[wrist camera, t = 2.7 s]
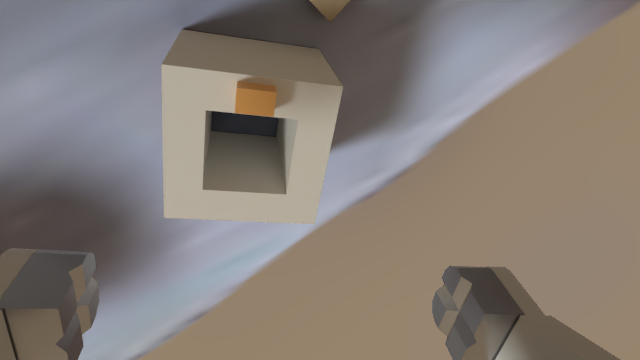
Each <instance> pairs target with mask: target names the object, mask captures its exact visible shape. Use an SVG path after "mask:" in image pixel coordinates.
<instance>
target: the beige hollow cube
mask: <svg viewBox="0 0 640 360" xmlns="http://www.w3.org/2000/svg"><path fill="white" fill-rule="evenodd" d="M342 91H343V85H342V84H341V82H340V81H339V79H338V78H337V76H336V75H335V73H334V72H333V70H332V69H331V67H330V66H329V64H328V63H327V61H326V60H325V58H324V57H323V55H322V54H321V52H320V50H319V49H315V48H308V47H301V46H294V45H287V44H280V43H273V42H266V41H259V40H252V39H245V38H238V37H232V36H225V35H218V34H211V33H204V32H197V31H190V30H183V29H182V30H181V32H180V33H179V35H178V37H177V39H176V40H175V42H174V44H173V45H172V47H171V49H170V51H169V52H168V54H167V56H166V58H165V59H164V61H163V63H162V121H163V184H164V218H182V219H206V220H229V221H253V222H277V223H301V224H315V220H316V215H317V210H318V205H319V201H320V196H321V191H322V186H323V181H324V177H325V172H326V167H327V162H328V158H329V153H330V148H331V143H332V139H333V134H334V129H335V124H336V120H337V115H338V110H339V105H340V101H341V96H342ZM212 111H218V112H228V113H238V114H247V115H257V116H267V117H277V118H279V120H278V127H277V135H276V137H271V136H260V135H249V134H238V133H227V132H216V131H211V118H212Z"/></svg>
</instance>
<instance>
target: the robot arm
mask: <svg viewBox="0 0 640 360" xmlns="http://www.w3.org/2000/svg"><path fill="white" fill-rule="evenodd" d="M95 269H96V261H95V255H94V254H93V253H91V252H80V251H63V250H46V249H39V250H36V249H21V248H10V249H8V250H6V251H5V252H3V253H2V255H1V256H0V360H78V358H79V355H80V353H81V351H82V348H83V339H82V334H83V333H85V332H86V331H87V330H89V329H90V328H91V327H92V324H93V322H94V319H95V317H96V312H97V308H98V303H99V284H98V282H97V281H96V280H95V279H94V278H93V277H92V275H93V273H94V271H95ZM442 279H443V282H444V285H443V286H442V287H440V288H439V289H438V290H437V291H436V293H435V296H434V298H433V301H432V313H433V317H434V321H435V323H436V325H437V327H438V329H439V330H440V331H442V332H443V333H444V334H445V335H446V336H447V340H446V346H447V348H448V351H449V353H450V355H451V357H452V359H453V360H620V359H618V358H617V357H615V356H614V355H612V354H611V353H609V352H607V351H606V350H604V349H603V348H601V347H600V346H598V345H596V344H595V343H593V342H592V341H590V340H588V339H587V338H585V337H584V336H582V335H581V334H579V333H577V332H576V331H574V330H573V329H571V328H569V327H568V326H566V325H564V324H563V323H562V322H560V321H558V320H557V319H555V318H554V317H552V316H545V315H544V313H543V312H542V311H541V309H540V308H539V307H538V306H537V304H536V303H535V302H534V300H533V299H532V298H531V297H530V295H529V294H528V293H527V292H526V290H525V289H524V288H523V287H522V285H521V284H520V283H519V282H518V280H517V279H516V278H515V276H514V275H513V274H512V273H511V271H510V270H508V269H507V268H505V267H468V266H449V267H448V268H447V269H446V270H445V271H444V274H443V276H442Z"/></svg>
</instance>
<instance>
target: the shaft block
mask: <svg viewBox="0 0 640 360" xmlns="http://www.w3.org/2000/svg"><path fill="white" fill-rule="evenodd" d="M309 1H310V2H311V3H312V4H313V5H314V6H315V7H316V8H317V9H318V10H319V11H320V12H321V13H322V14H323V15H324V17H325V18H326V19H327V20H328V21H329V22H331V21H332V20H333V19H334V18H335V16H336V15H337V14H338V13H339V12H340V11H341V10H342V9H343V8H344V7H345V6H346V5H347V3H348V2H349V1H350V0H309Z"/></svg>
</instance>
